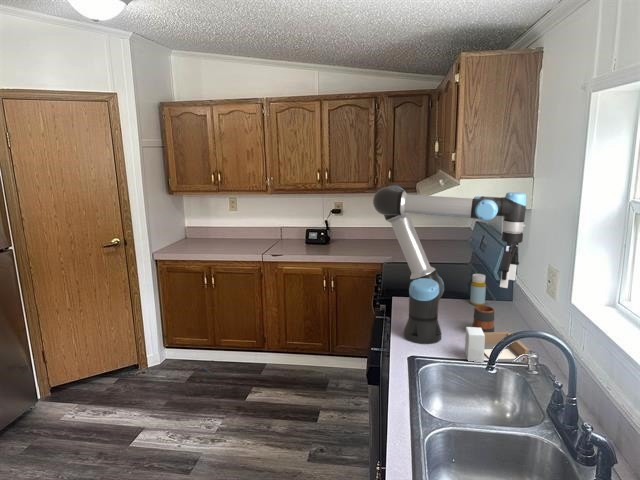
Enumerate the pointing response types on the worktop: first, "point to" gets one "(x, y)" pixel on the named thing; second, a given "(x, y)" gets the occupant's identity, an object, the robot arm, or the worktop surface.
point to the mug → (484, 318)
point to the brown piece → (509, 351)
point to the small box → (474, 344)
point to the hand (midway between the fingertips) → (507, 283)
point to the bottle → (478, 289)
